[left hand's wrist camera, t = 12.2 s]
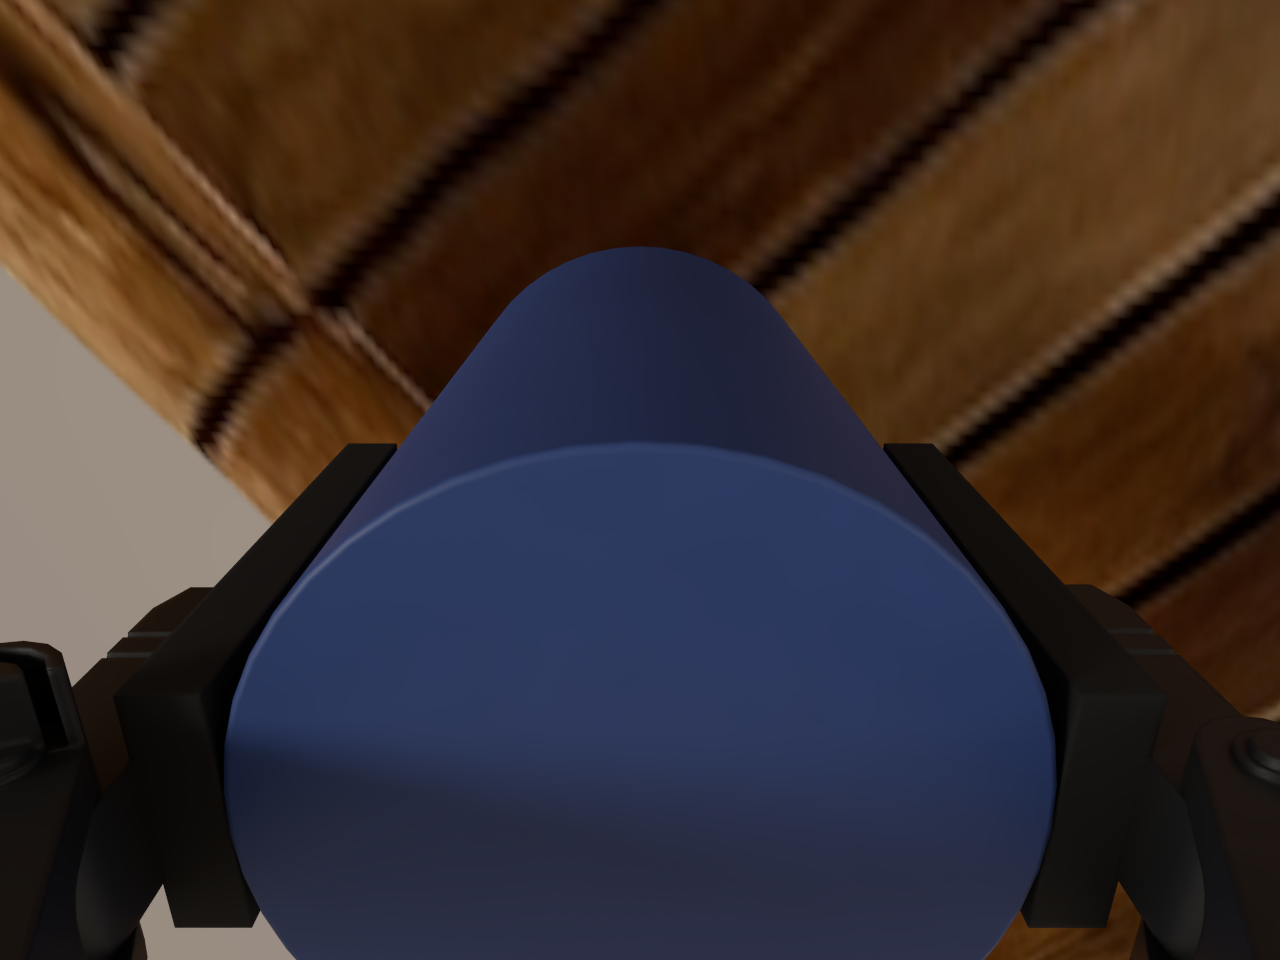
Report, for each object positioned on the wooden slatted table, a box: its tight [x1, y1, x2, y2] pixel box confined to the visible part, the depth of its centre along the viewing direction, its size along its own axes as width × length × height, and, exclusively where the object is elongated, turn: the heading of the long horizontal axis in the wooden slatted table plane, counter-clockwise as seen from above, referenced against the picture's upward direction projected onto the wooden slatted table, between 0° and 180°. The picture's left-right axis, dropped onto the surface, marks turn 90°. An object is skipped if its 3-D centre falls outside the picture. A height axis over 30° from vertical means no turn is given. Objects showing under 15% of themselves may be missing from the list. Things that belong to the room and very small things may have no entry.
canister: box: [224, 247, 1057, 960], centre depth 14 cm, size 8×8×12 cm
